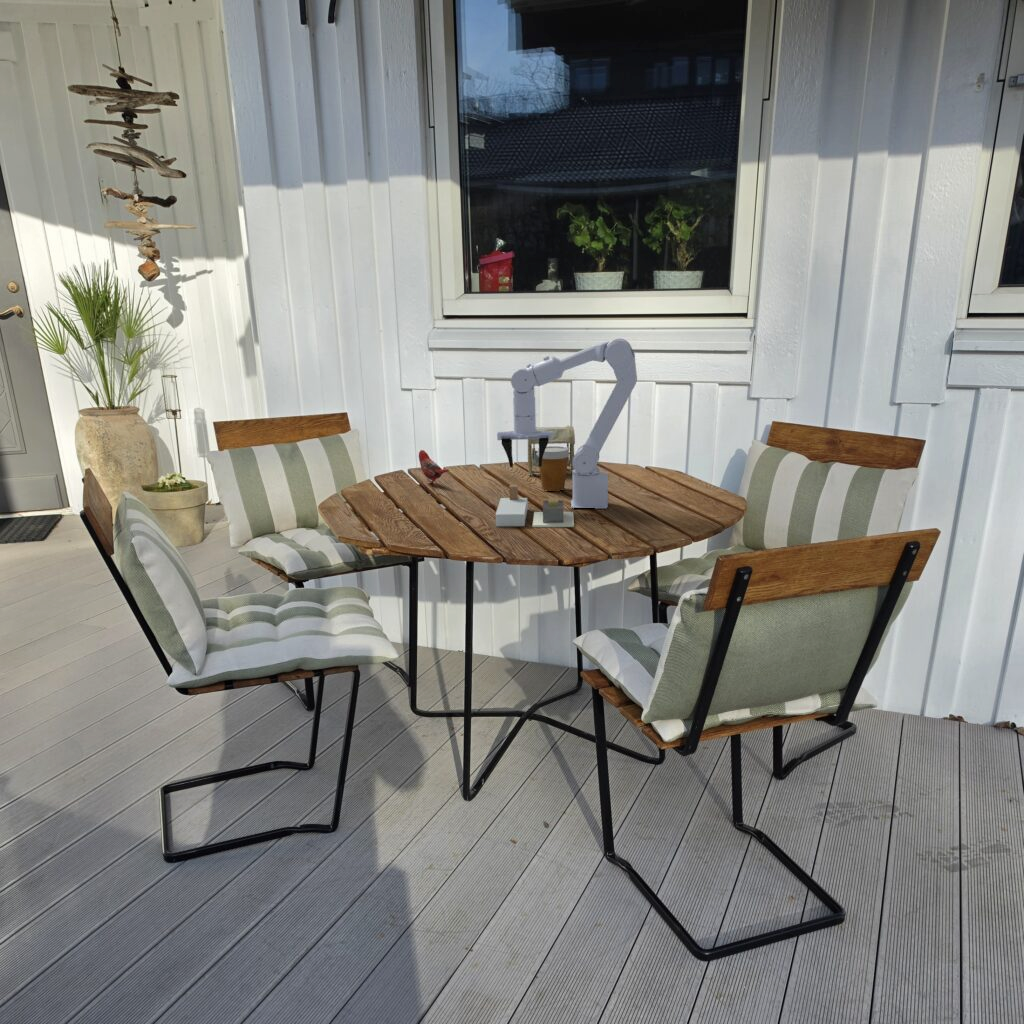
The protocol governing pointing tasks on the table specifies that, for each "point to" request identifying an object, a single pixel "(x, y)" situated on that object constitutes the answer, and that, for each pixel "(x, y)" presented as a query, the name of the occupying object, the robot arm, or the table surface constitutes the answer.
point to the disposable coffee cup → (554, 468)
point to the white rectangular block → (512, 509)
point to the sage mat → (566, 523)
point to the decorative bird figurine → (430, 467)
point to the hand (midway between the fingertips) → (525, 466)
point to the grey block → (553, 511)
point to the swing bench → (559, 437)
